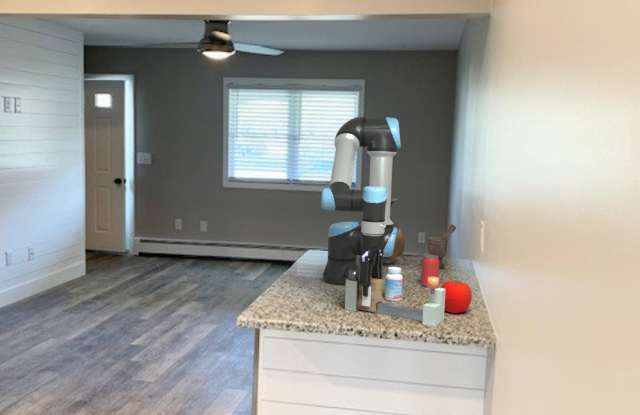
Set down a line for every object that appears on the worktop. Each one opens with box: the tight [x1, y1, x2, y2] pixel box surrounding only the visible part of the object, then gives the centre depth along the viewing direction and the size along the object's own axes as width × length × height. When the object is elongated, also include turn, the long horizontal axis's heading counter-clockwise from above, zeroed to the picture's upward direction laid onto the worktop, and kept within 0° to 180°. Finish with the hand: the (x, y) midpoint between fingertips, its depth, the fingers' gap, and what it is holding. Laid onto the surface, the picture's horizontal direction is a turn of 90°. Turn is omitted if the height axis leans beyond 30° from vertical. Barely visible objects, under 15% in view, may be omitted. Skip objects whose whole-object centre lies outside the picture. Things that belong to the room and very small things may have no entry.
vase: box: [383, 197, 406, 265], centre depth 272 cm, size 23×19×30 cm
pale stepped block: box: [421, 287, 445, 327], centre depth 187 cm, size 4×9×10 cm, turn 150°
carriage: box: [358, 277, 383, 311], centre depth 198 cm, size 6×5×10 cm
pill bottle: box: [384, 266, 404, 302], centre depth 213 cm, size 6×6×11 cm
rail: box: [344, 269, 423, 322], centre depth 195 cm, size 27×8×13 cm, turn 60°
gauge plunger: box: [426, 276, 440, 294], centre depth 184 cm, size 3×3×5 cm
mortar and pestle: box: [427, 224, 457, 269], centre depth 270 cm, size 12×9×20 cm
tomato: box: [440, 280, 473, 314], centre depth 199 cm, size 10×11×11 cm
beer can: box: [420, 253, 440, 288], centre depth 234 cm, size 7×7×12 cm
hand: (370, 303), depth 198 cm, fingers closed on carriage, 5 cm apart
